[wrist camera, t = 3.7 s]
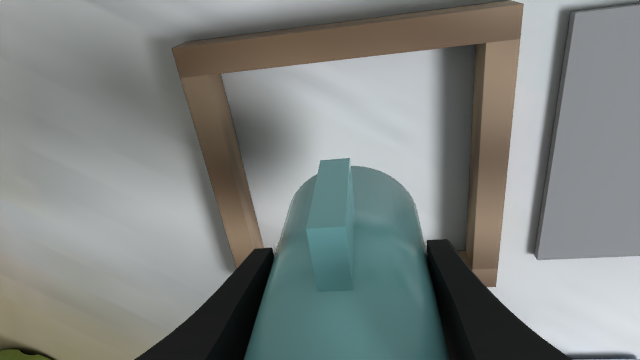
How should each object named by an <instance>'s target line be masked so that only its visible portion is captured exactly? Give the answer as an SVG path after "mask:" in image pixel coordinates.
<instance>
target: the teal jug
mask: <svg viewBox="0 0 640 360" xmlns="http://www.w3.org/2000/svg"><path fill="white" fill-rule="evenodd" d="M244 360H450V358H449V353H448V349H447V344H446V340H445V335H444V330H443V326H442V321H441V317H440V312H439V308H438V303H437V299H436V294H435V290H434V285H433V280H432V276H431V271H430V267H429V262H428V258H427V253H426V249H425V244H424V240H423V235H422V230H421V226H420V221H419V217H418V212H417V209H416V205H415V203H414V201H413V199H412V197H411V196H410V194H409V192H408V191H407V190H406V189H405V188H404V187H403V186H402V185H401V184H400V183H399V182H398V181H397V180H395V179H394V178H392V177H391V176H389V175H387V174H385V173H383V172H380V171H378V170H375V169H371V168H367V167H360V166H351V165H350V158H346V159H333V160H321V161H320V165H319V170H318V174H317V175H315V176H313V177H312V178H310V179H309V180H308V181H306V182H305V183H304V184H303V185H302V186H301V187H300V188H299V189H298V191H297V192H296V193H295V195H294V197H293V199H292V201H291V204H290V207H289V210H288V213H287V217H286V220H285V223H284V227H283V230H282V233H281V237H280V240H279V243H278V247H277V250H276V253H275V257H274V260H273V263H272V267H271V270H270V273H269V277H268V280H267V283H266V287H265V290H264V294H263V297H262V300H261V304H260V307H259V310H258V314H257V317H256V320H255V324H254V327H253V330H252V334H251V337H250V340H249V344H248V347H247V350H246V354H245V357H244Z"/></svg>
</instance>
